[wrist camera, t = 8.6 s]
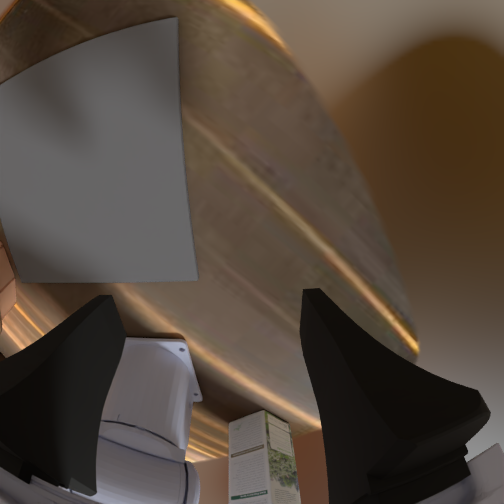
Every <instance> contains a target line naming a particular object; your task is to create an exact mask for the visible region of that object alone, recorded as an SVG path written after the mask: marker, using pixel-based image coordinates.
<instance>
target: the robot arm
mask: <svg viewBox="0 0 504 504" xmlns="http://www.w3.org/2000/svg"><path fill="white" fill-rule="evenodd" d="M126 335H127V334H126V332H125V329H124V327H123V324H122V322H121V319H120V316H119V314H118V311H117V308H116V305H115V303H114V300H113V297H112V295H99V296H97V297H95V298H94V299H92V300H91V301H89V302H88V303H87V304H85V305H84V306H83V307H81V308H80V309H79V310H77V311H76V312H75V313H73V314H72V315H71V316H69V317H68V318H67V319H66V320H64V321H63V322H62V323H60V324H59V325H58V326H56V327H55V328H54V329H52V330H51V331H50V332H48V333H47V334H46V335H44V336H43V337H41V338H40V339H39V340H37V341H36V342H34V343H33V344H31V345H29V346H28V347H26V348H25V349H23V350H21V351H19V352H18V353H16V354H14V355H12V356H10V357H8V358H6V359H4V360H2V361H0V504H198V503H199V496H200V479H199V475H198V472H197V471H196V469H195V468H194V465H193V464H192V463H191V462H189V461H186V460H185V454H186V449H187V446H188V440H189V432H190V423H191V415H192V407H193V402H200V401H202V394H201V391H200V387H199V384H198V381H197V377H196V374H195V371H194V367H193V364H192V360H191V356H190V353H189V349H188V345H187V342H186V341H185V340H183V339H154V338H130V337H126ZM300 338H301V345H302V351H303V356H304V359H305V363H306V366H307V370H308V373H309V377H310V380H311V384H312V387H313V391H314V394H315V398H316V401H317V405H318V409H319V413H320V420H321V426H322V432H323V439H324V447H325V455H326V465H327V476H328V490H329V504H504V453H503V451H502V449H501V447H500V445H499V443H496V444H494V445H493V446H491V447H490V448H489V449H487V450H485V451H484V452H482V453H481V454H479V455H477V456H476V457H474V458H473V459H471V460H470V461H468V462H467V463H466V461H465V458H464V456H465V455H466V454H468V450H467V447H466V445H465V444H466V443H467V442H468V441H469V440H470V439H471V438H472V437H473V436H474V435H476V433H478V432H479V431H480V429H482V427H483V426H484V425H485V424H486V423H487V421H488V420H489V418H490V413H491V412H490V410H489V409H488V407H487V405H486V403H485V402H484V400H483V398H482V397H481V395H480V393H479V391H478V390H475V389H472V388H469V387H466V386H463V385H460V384H456V383H454V382H451V381H448V380H446V379H444V378H441V377H439V376H437V375H434V374H432V373H430V372H428V371H426V370H424V369H422V368H420V367H418V366H416V365H414V364H412V363H411V362H409V361H407V360H405V359H404V358H402V357H400V356H399V355H397V354H396V353H394V352H393V351H391V350H390V349H388V348H387V347H385V346H384V345H382V344H381V343H380V342H378V341H377V340H376V339H374V338H373V337H372V336H370V335H369V334H368V333H367V332H366V331H364V330H363V329H362V328H361V327H360V326H358V325H357V324H356V323H355V322H354V321H353V320H352V319H351V318H350V317H348V316H347V315H346V314H345V313H344V312H343V311H342V310H341V309H340V308H339V307H338V306H337V305H336V304H335V303H334V302H333V301H332V300H331V299H330V298H329V297H328V296H327V295H326V294H325V293H324V292H323V291H322V290H321V289H320V288H314V289H303V296H302V309H301V321H300ZM182 348H184V349H182Z"/></svg>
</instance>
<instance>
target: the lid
mask: <svg viewBox="0 0 504 504" xmlns="http://www.w3.org/2000/svg"><path fill="white" fill-rule="evenodd" d="M1 331H2V318H1V312H0V334H1Z"/></svg>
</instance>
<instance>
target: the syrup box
mask: <svg viewBox="0 0 504 504" xmlns="http://www.w3.org/2000/svg"><path fill="white" fill-rule="evenodd" d="M229 504H301V500H300V492H299V486H298V478H297V471H296V464H295V457H294V450H293V443H292V437H291V429H290V424H289V423H287V422H285V421H283V420H281V419H279V418H277V417H276V416H274V415H272V414H270V413H269V412H267V411H265V410H262V411H259V412H256V413H253V414H251V415H248V416H245V417H243V418H240V419H238V420H235V421H233V422H230V423H229Z"/></svg>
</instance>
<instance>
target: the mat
mask: <svg viewBox="0 0 504 504" xmlns="http://www.w3.org/2000/svg"><path fill="white" fill-rule="evenodd" d="M0 219H1V222H2V226H3V229H4V233H5V236H6V240H7V243H8V246H9V249H10V252H11V255H12V258H13V260H14V263H15V266H16V269H17V271H18V274H19V276H20V279H21V281H22V282H23V283H125V282H170V281H198V279H199V273H198V267H197V260H196V253H195V246H194V238H193V230H192V223H191V214H190V206H189V197H188V188H187V178H186V168H185V157H184V145H183V132H182V117H181V101H180V79H179V43H178V18H177V17H174V18H168V19H163V20H158V21H154V22H149V23H145V24H141V25H137V26H133V27H129V28H126V29H122V30H119V31H116V32H112V33H109V34H106V35H103V36H100V37H97V38H94V39H92V40H89V41H86V42H84V43H81V44H79V45H76V46H74V47H71V48H69V49H67V50H64V51H62V52H60V53H58V54H55V55H53V56H51V57H49V58H47V59H45V60H43V61H41V62H39V63H37V64H35V65H33V66H31V67H30V68H28V69H26V70H24V71H22V72H21V73H19V74H17V75H16V76H14V77H12V78H11V79H9V80H7V81H6V82H4V83H3V84H1V85H0Z"/></svg>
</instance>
